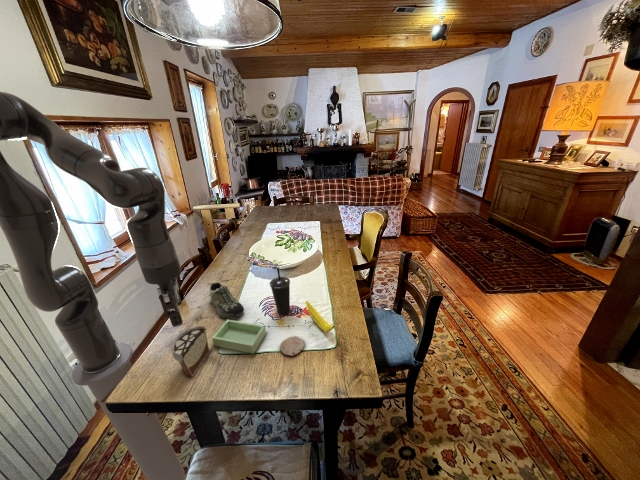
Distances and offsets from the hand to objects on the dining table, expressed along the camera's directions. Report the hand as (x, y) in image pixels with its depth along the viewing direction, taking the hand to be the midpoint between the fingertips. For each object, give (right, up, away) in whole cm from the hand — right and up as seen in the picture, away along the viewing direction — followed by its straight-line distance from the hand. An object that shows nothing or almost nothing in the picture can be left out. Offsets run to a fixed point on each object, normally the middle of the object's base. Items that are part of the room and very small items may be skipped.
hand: (177, 314), depth 65 cm
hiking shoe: (-2, -9, +39) cm, 40 cm away
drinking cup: (+22, -9, +36) cm, 43 cm away
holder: (+9, -16, +23) cm, 29 cm away
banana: (+36, -12, +28) cm, 48 cm away
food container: (-4, -20, +15) cm, 26 cm away
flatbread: (+27, -17, +19) cm, 37 cm away
